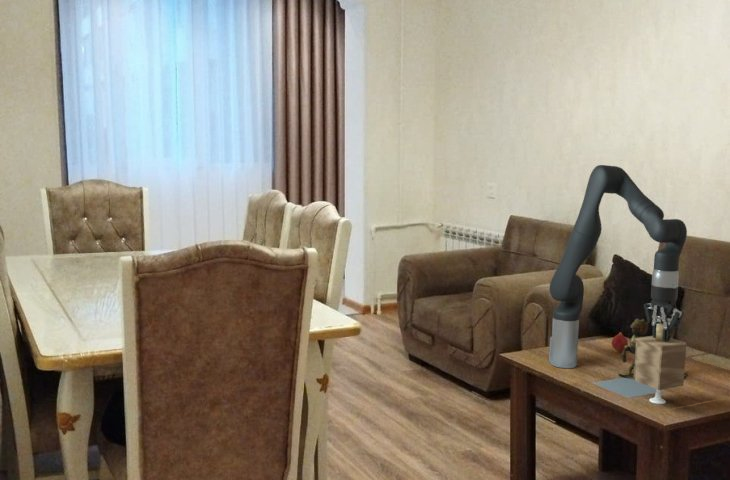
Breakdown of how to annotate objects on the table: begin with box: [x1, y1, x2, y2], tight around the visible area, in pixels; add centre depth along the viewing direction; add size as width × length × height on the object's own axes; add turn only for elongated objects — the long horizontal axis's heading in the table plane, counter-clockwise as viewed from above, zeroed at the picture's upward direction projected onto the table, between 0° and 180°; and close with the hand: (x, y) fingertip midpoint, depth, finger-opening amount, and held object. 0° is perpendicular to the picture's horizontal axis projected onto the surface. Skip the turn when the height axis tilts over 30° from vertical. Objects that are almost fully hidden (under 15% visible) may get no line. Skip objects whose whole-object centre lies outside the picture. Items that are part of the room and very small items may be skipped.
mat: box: [592, 377, 665, 399], centre depth 245 cm, size 16×16×1 cm
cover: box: [633, 322, 687, 391], centre depth 230 cm, size 10×10×19 cm
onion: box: [611, 331, 629, 353], centre depth 287 cm, size 6×6×8 cm
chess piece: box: [648, 389, 667, 405], centre depth 231 cm, size 5×5×10 cm
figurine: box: [618, 317, 689, 379], centre depth 257 cm, size 13×25×20 cm, turn 96°
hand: (661, 339), depth 229 cm, fingers closed on cover, 3 cm apart
